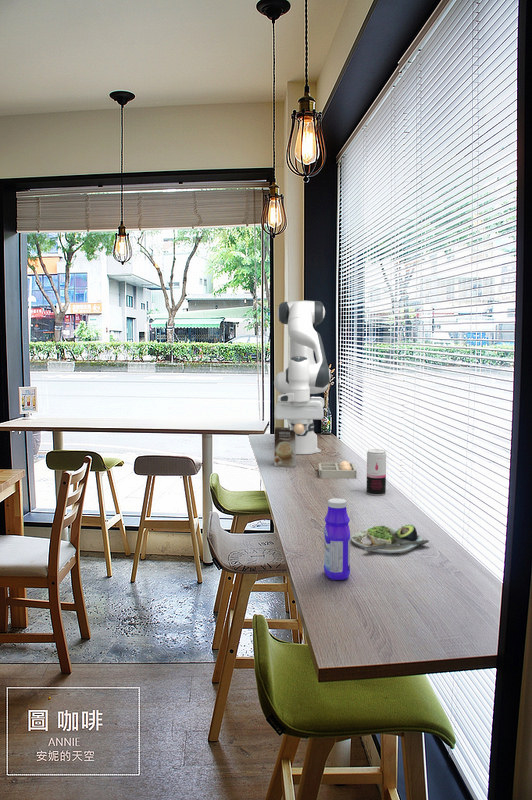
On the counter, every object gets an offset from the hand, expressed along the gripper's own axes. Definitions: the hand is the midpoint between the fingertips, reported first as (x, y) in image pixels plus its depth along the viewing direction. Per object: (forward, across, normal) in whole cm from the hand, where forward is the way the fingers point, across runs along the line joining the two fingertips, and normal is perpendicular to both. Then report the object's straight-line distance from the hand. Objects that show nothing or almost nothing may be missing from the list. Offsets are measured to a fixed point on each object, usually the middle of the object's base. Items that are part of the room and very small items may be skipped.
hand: (298, 430), depth 233 cm
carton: (+17, -15, +9) cm, 24 cm away
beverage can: (+17, -27, +35) cm, 47 cm away
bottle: (+16, -9, +106) cm, 108 cm away
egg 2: (+16, -18, +6) cm, 25 cm away
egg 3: (+16, -18, +12) cm, 27 cm away
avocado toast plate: (+17, -24, +84) cm, 89 cm away
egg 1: (+2, 0, 0) cm, 2 cm away
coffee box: (+17, +6, -9) cm, 20 cm away
